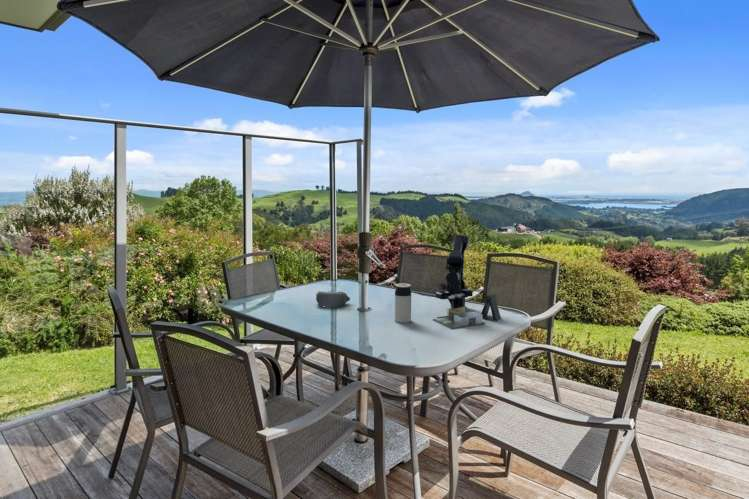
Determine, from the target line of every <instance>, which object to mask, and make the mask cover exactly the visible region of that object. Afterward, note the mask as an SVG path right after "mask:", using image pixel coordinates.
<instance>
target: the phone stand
mask: <svg viewBox="0 0 749 499" xmlns="http://www.w3.org/2000/svg"><path fill="white" fill-rule="evenodd" d="M490 310H491V315H488V314H489V311H490ZM500 313H501V312H500V310H499V306H498V303H497V296H496V294H495V293H491V294H489V295H487V296H486V297H485V302H484V305H483V307H482V310H481V313H480V314H482V315H483V320H486V321H492V322H497V321H499V320H501V319H502V316H501V314H500Z"/></svg>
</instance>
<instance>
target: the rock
mask: <svg viewBox="0 0 749 499" xmlns="http://www.w3.org/2000/svg"><path fill="white" fill-rule="evenodd" d="M315 296H316V297H315V300H316V302H317V304H318V305H319V306H320V307H322V306H325V307H324V308H341V307H343V306H345V305H346V304H347V302H349V301H351V297H350V296H348V294H347V293H346V292H344V291H332V290H329V291H317V293H315Z"/></svg>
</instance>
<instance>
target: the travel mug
mask: <svg viewBox="0 0 749 499" xmlns="http://www.w3.org/2000/svg"><path fill="white" fill-rule="evenodd" d="M411 287H412V285H411V284H410V283H404V282H403V283H402V282H400V283H396V284H395V288H396V289H395V290H394V321H395V322H396V323H400V324H406V323H409V322H411V321H412V290H411Z"/></svg>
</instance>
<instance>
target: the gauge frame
mask: <svg viewBox="0 0 749 499" xmlns="http://www.w3.org/2000/svg"><path fill="white" fill-rule="evenodd" d="M483 320H484V319H483V315H482V314H481V313H479V312H476V311H472V312H465V313H462V314H455V315H454V318H449V319H448V318H447V317H446V318H438V319H437V317H435V318H432V321H434V322H435V323H437V324H440V325H442V326H444V327H446V328H448V329H450V330H455V329H462V328H463V329H464V328H469V327H476V326H482V325H485V324H486V323H485V322H483Z"/></svg>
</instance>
